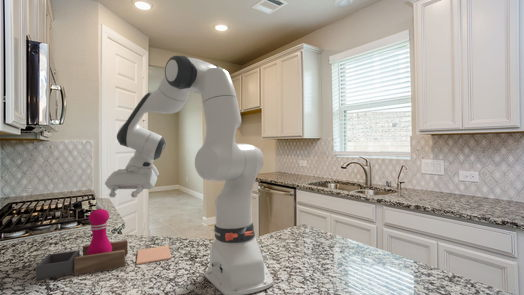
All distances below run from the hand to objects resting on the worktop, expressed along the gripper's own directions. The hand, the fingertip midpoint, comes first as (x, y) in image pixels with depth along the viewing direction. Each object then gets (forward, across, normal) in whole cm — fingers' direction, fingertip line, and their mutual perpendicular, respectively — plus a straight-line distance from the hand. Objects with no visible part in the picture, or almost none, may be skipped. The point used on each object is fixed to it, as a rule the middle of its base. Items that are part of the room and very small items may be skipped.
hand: (122, 196), depth 106 cm
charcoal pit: (+27, -10, +2) cm, 29 cm away
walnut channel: (+23, +1, +7) cm, 24 cm away
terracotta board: (+16, +14, +13) cm, 25 cm away
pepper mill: (+23, 0, +7) cm, 24 cm away
